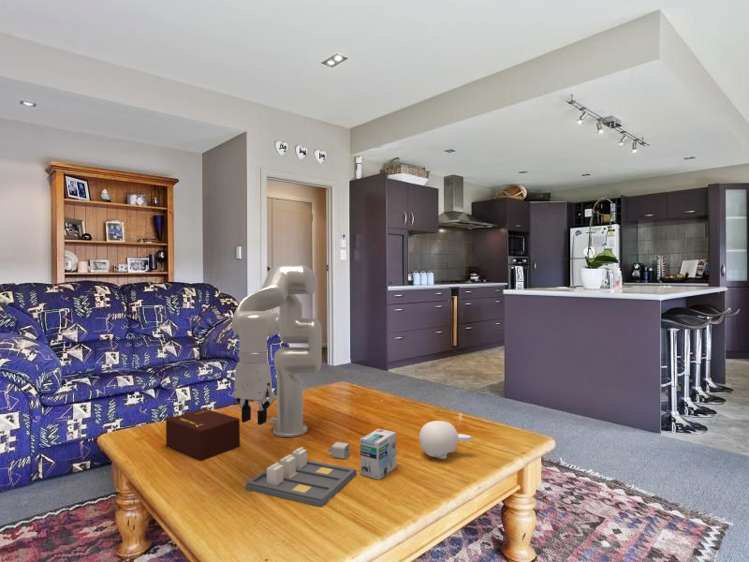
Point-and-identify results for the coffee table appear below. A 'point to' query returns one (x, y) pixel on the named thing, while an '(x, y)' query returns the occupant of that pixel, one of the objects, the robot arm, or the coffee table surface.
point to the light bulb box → (378, 453)
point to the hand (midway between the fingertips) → (254, 421)
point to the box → (202, 434)
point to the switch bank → (306, 483)
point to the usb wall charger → (340, 450)
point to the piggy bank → (440, 438)
